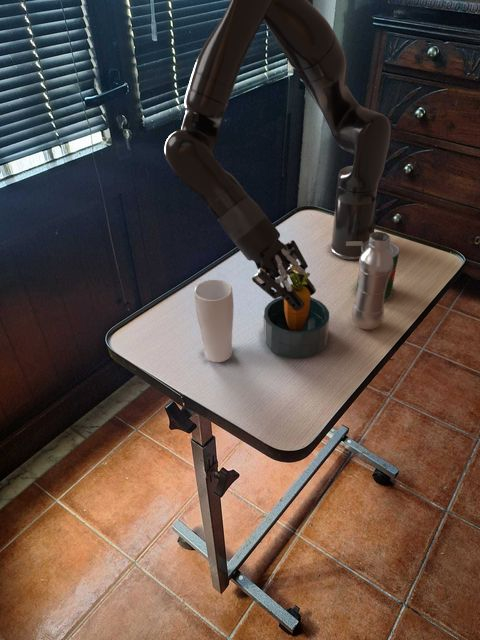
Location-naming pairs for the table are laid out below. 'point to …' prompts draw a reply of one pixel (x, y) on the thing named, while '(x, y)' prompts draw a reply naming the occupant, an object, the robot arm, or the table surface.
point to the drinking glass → (215, 318)
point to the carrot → (299, 317)
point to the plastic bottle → (372, 282)
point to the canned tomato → (394, 253)
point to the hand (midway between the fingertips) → (306, 300)
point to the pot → (293, 341)
